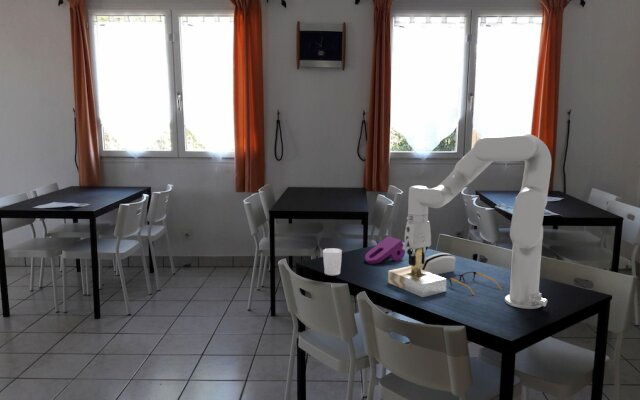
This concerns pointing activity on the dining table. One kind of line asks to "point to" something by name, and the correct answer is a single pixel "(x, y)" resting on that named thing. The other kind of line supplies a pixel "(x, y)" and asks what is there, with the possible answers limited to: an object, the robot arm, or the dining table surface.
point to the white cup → (332, 261)
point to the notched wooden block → (401, 276)
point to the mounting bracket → (386, 251)
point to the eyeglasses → (473, 279)
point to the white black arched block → (439, 263)
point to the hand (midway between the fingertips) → (416, 263)
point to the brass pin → (417, 263)
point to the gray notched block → (425, 284)
